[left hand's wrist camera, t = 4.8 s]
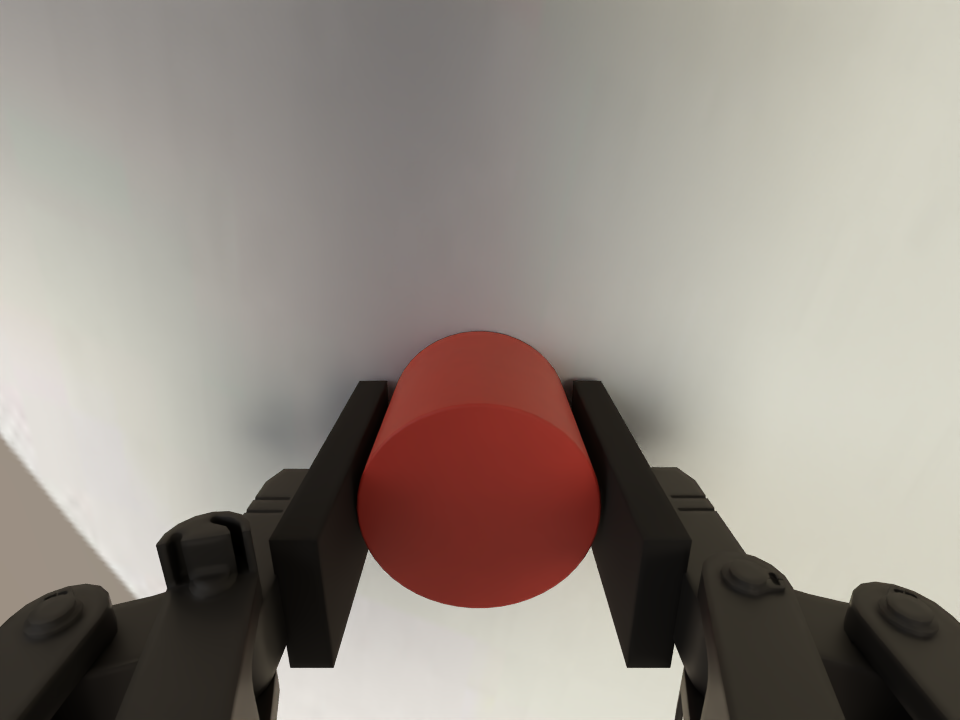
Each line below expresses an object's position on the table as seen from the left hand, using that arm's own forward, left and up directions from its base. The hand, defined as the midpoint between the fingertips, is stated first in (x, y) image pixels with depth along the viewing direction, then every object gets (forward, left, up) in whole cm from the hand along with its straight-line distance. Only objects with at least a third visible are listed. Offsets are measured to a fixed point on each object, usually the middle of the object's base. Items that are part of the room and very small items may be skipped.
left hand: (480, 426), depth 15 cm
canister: (0, 0, 0) cm, 0 cm away
